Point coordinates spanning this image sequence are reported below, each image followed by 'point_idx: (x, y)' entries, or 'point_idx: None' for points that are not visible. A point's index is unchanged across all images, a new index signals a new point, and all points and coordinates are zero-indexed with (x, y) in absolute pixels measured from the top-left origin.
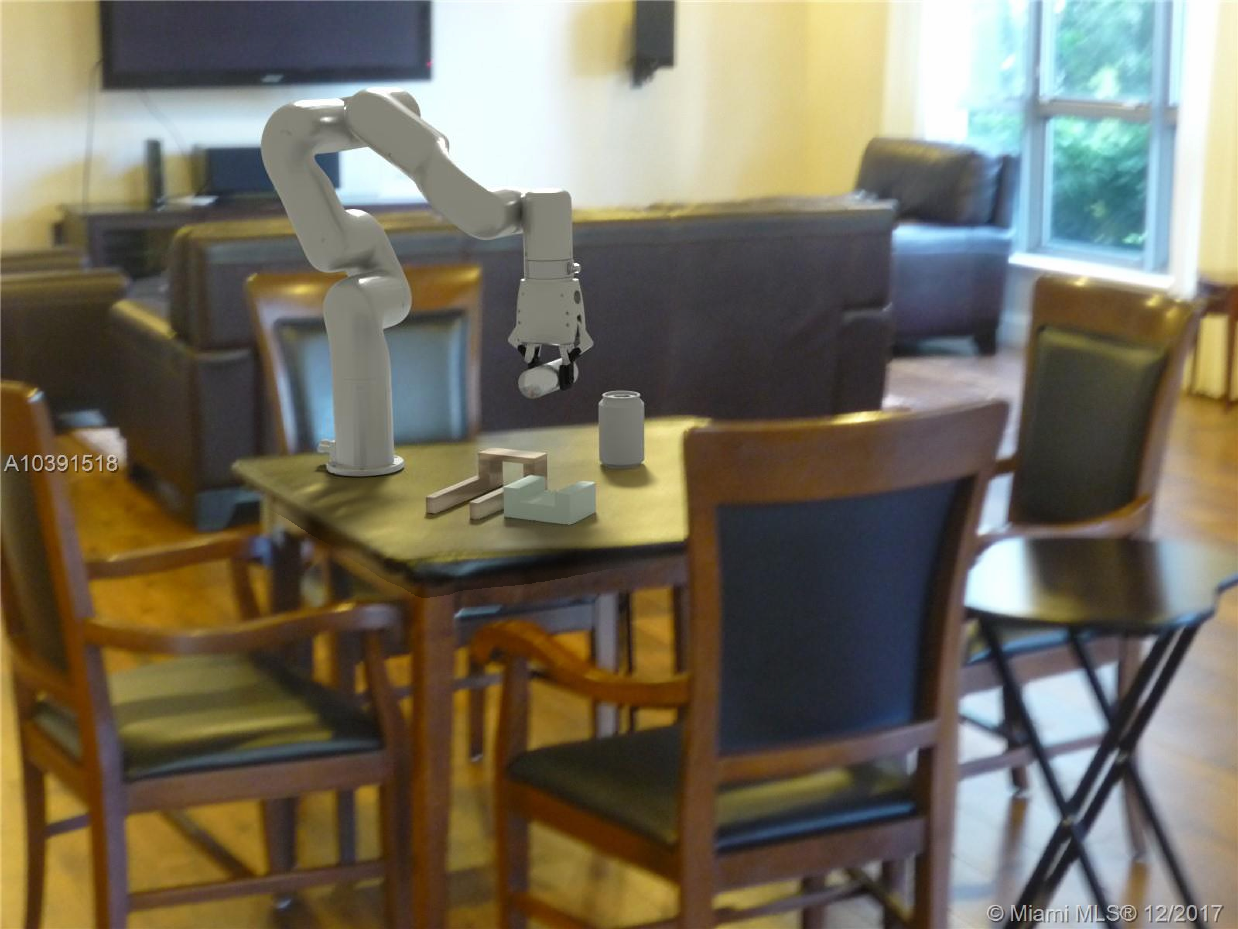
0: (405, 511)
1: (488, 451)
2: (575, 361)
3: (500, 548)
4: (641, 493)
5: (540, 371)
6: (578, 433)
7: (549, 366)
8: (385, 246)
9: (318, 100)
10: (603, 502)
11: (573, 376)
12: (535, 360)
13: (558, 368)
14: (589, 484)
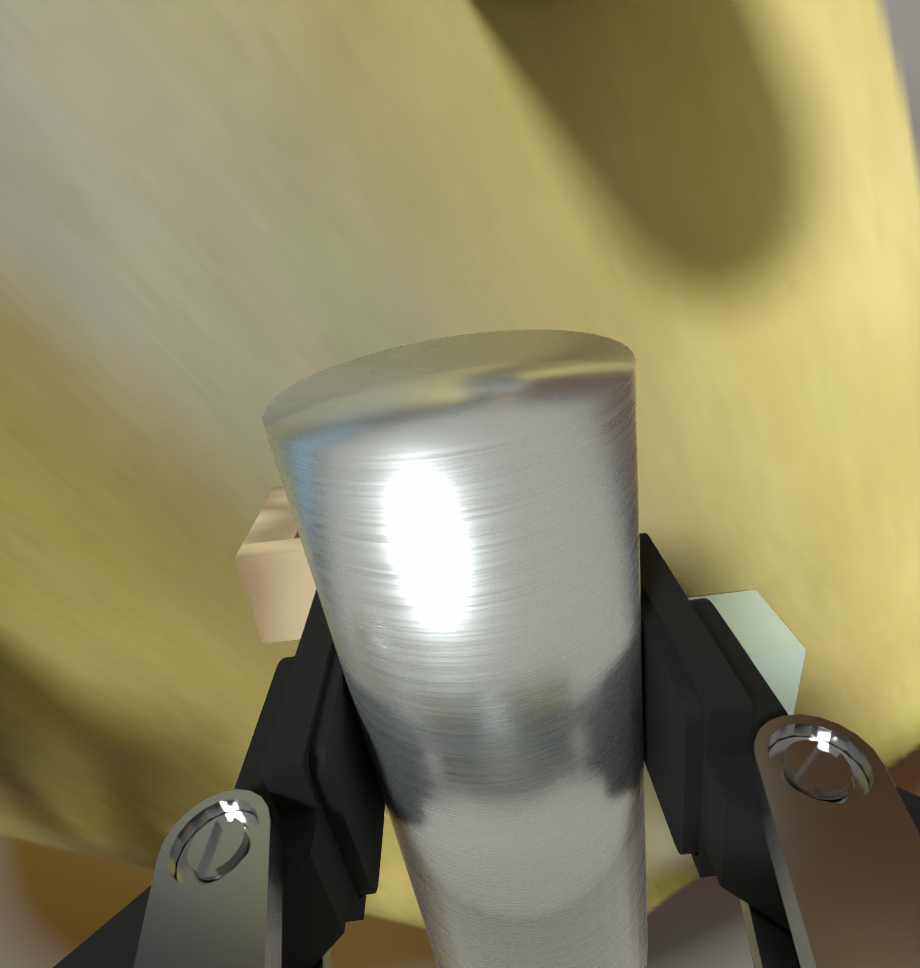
0: None
1: (282, 614)
2: (836, 737)
3: (674, 859)
4: (818, 333)
5: None
6: None
7: (589, 898)
8: None
9: None
10: (734, 496)
11: (729, 637)
12: (345, 904)
13: (625, 783)
14: (795, 674)
